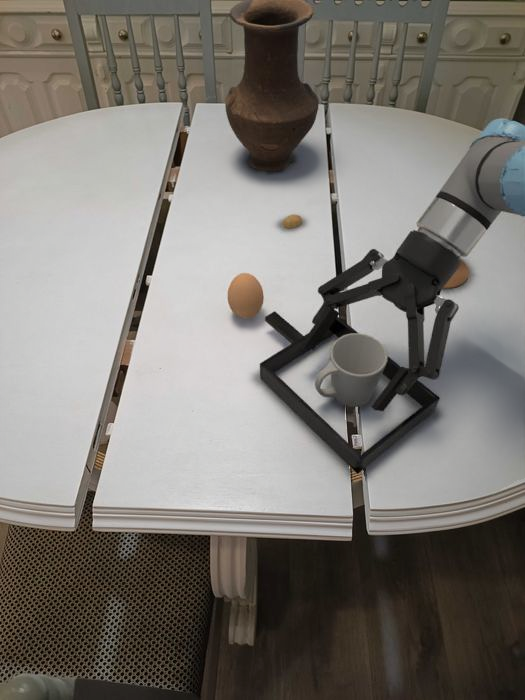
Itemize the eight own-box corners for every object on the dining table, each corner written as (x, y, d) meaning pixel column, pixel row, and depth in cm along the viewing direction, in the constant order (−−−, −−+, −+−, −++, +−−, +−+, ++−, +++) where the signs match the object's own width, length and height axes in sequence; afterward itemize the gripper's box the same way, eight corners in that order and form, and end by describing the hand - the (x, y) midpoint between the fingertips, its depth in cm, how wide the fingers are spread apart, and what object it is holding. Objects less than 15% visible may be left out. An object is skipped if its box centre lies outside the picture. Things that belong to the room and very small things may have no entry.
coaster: (480, 272, 93) (480, 270, 93) (443, 297, 89) (444, 295, 89) (435, 245, 99) (435, 243, 98) (398, 267, 95) (398, 265, 94)
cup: (388, 401, 76) (399, 364, 69) (327, 427, 73) (332, 390, 67) (360, 364, 80) (367, 325, 74) (301, 387, 78) (304, 349, 71)
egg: (239, 298, 90) (236, 259, 84) (269, 308, 89) (269, 269, 82) (223, 320, 87) (218, 282, 81) (254, 331, 85) (253, 292, 79)
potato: (304, 224, 104) (305, 216, 102) (286, 230, 102) (286, 222, 101) (297, 217, 105) (298, 209, 104) (280, 223, 104) (280, 215, 103)
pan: (434, 412, 74) (440, 397, 72) (357, 474, 68) (360, 460, 66) (305, 307, 89) (306, 291, 86) (232, 350, 83) (230, 335, 80)
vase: (218, 178, 115) (205, 23, 92) (241, 135, 127) (234, -11, 104) (306, 188, 112) (314, 30, 89) (321, 143, 124) (332, -6, 101)
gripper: (530, 303, 63) (420, 438, 69) (377, 209, 76) (294, 329, 82) (519, 289, 57) (399, 439, 63) (355, 190, 70) (267, 320, 76)
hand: (340, 377), depth 72 cm, fingers open, 13 cm apart
